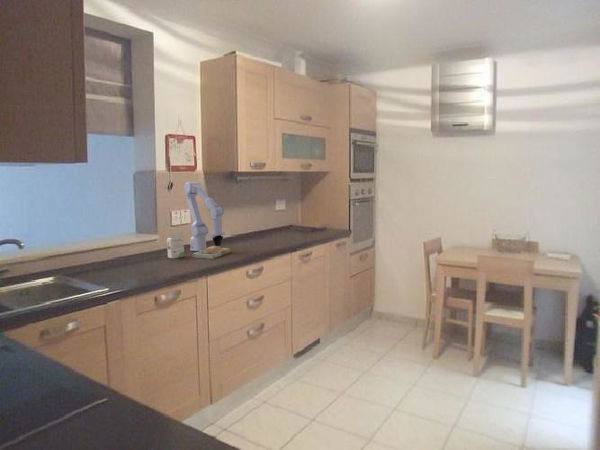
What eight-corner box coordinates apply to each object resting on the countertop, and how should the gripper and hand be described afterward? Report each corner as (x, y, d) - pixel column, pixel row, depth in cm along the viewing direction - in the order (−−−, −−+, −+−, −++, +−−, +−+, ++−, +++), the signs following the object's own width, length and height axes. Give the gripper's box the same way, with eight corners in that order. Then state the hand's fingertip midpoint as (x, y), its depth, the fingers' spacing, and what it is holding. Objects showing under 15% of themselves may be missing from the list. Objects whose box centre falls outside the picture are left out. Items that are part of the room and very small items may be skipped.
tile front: (205, 251, 268) (205, 248, 268) (209, 250, 273) (209, 247, 273) (212, 252, 267) (212, 248, 266) (216, 250, 271) (216, 247, 271)
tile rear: (209, 250, 273) (209, 247, 273) (213, 248, 278) (213, 245, 277) (216, 250, 271) (216, 247, 271) (220, 249, 276) (220, 246, 276)
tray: (192, 257, 264) (192, 253, 263) (201, 254, 273) (201, 250, 272) (213, 258, 259) (213, 255, 259) (221, 255, 268) (221, 252, 268)
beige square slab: (202, 254, 273) (202, 250, 272) (212, 250, 284) (211, 247, 284) (220, 255, 269) (220, 251, 268) (230, 252, 280) (230, 248, 279)
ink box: (180, 255, 270) (179, 231, 268) (184, 256, 266) (183, 232, 264) (167, 257, 264) (166, 232, 262) (171, 258, 260) (170, 233, 258)
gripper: (217, 228, 268) (217, 250, 270) (228, 225, 282) (229, 246, 283) (206, 227, 270) (207, 249, 272) (218, 224, 284) (219, 245, 286)
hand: (217, 247), depth 278 cm, fingers closed
